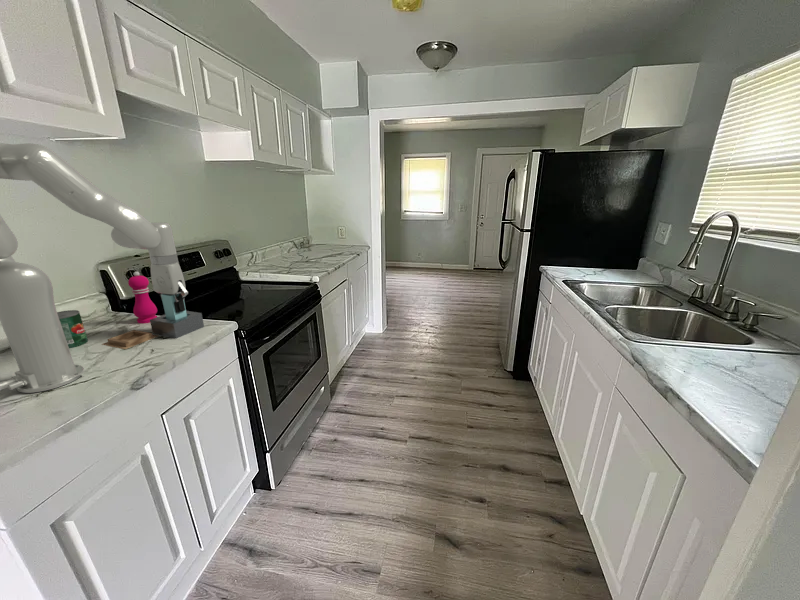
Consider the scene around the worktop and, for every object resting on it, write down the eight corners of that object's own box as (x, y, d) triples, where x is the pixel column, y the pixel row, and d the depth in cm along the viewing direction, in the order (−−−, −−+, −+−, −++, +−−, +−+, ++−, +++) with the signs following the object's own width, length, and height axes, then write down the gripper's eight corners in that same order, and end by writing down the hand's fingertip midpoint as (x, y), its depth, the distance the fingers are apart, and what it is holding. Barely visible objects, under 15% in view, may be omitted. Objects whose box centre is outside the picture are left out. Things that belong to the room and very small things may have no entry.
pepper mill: (131, 324, 124) (118, 273, 118) (150, 317, 131) (138, 269, 124) (145, 326, 122) (133, 274, 116) (164, 319, 129) (152, 270, 122)
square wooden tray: (125, 351, 103) (123, 345, 102) (101, 345, 106) (100, 340, 106) (159, 337, 113) (158, 332, 112) (136, 333, 116) (135, 327, 116)
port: (176, 340, 111) (173, 322, 109) (153, 335, 114) (149, 318, 112) (204, 328, 121) (201, 312, 119) (182, 324, 124) (178, 308, 122)
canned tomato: (52, 346, 105) (41, 314, 102) (85, 338, 111) (75, 308, 108) (58, 353, 101) (47, 320, 97) (91, 344, 107) (82, 313, 104)
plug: (176, 323, 114) (169, 292, 110) (167, 321, 115) (160, 291, 112) (187, 319, 118) (181, 289, 114) (178, 317, 119) (172, 288, 116)
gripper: (135, 260, 109) (147, 311, 114) (172, 264, 104) (183, 317, 110) (157, 256, 116) (167, 304, 121) (193, 259, 111) (202, 310, 116)
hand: (175, 310), depth 115 cm, fingers closed on plug, 4 cm apart
